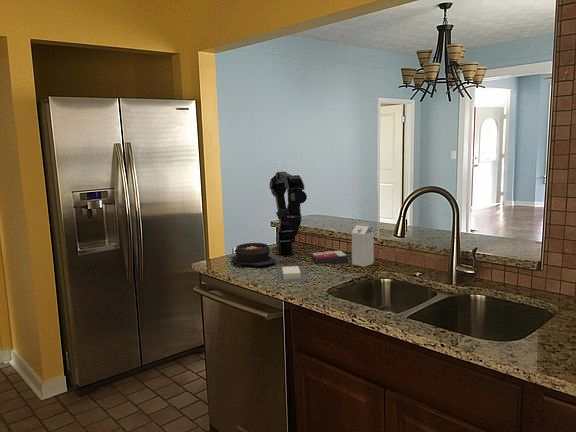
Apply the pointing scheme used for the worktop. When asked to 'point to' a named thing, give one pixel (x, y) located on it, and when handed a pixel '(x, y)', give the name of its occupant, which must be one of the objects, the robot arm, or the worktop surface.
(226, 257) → the worktop surface
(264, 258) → the casserole
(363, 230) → the milk carton
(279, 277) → the mat
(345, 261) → the calculator
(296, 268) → the box
